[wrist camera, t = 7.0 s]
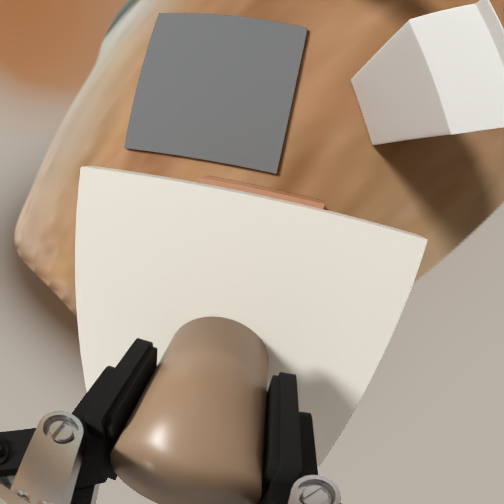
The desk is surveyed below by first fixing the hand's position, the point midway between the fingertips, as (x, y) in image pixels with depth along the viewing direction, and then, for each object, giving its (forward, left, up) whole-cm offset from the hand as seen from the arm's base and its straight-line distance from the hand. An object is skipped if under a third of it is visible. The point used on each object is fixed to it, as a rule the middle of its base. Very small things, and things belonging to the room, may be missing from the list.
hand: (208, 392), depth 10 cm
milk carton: (-11, -17, -22) cm, 30 cm away
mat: (+7, -15, -22) cm, 28 cm away
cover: (0, 0, -3) cm, 3 cm away
